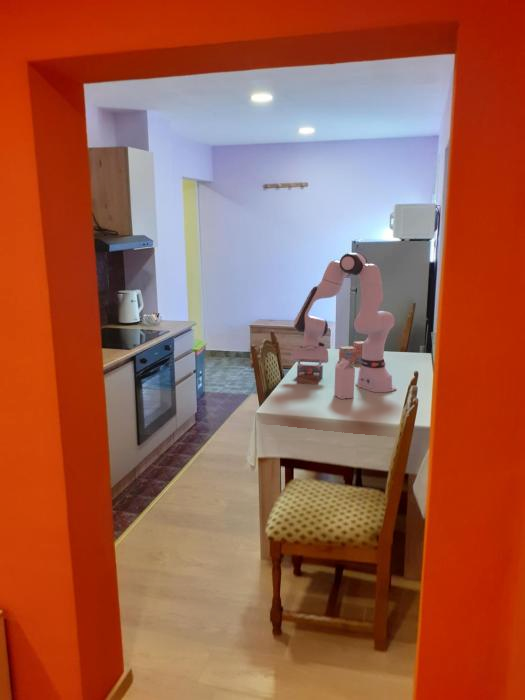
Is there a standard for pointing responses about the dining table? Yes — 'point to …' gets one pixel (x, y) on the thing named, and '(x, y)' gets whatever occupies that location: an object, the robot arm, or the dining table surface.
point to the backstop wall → (312, 369)
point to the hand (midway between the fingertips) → (309, 368)
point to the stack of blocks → (351, 352)
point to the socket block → (308, 377)
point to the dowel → (309, 370)
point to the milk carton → (344, 380)
